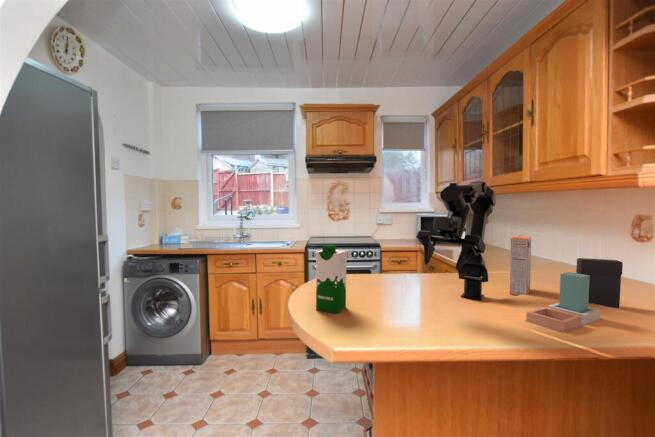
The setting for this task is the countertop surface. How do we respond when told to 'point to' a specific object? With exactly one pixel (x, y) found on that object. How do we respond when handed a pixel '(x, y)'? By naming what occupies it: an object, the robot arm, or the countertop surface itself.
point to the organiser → (561, 318)
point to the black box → (602, 280)
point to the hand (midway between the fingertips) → (440, 266)
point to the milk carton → (330, 279)
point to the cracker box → (520, 265)
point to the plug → (574, 292)
